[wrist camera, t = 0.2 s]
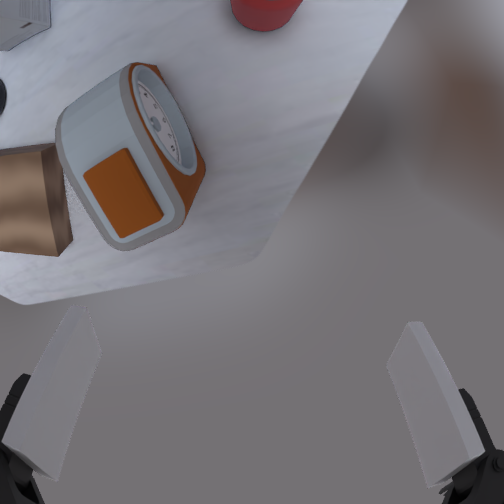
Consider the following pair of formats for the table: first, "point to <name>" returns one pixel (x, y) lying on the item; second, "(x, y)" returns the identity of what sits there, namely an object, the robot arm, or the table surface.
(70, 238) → the walnut block
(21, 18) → the skincare box
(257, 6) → the beer can
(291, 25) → the table surface
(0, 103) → the supplement bottle
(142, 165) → the alarm clock
